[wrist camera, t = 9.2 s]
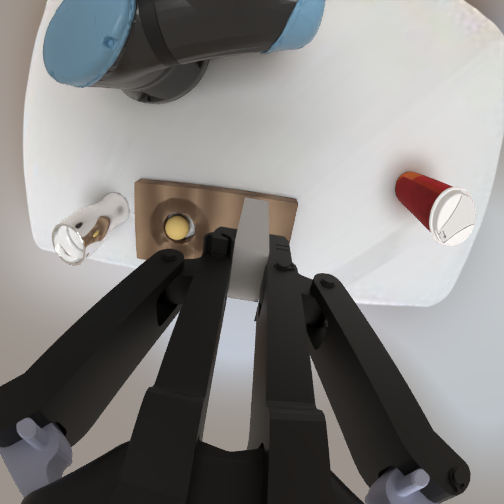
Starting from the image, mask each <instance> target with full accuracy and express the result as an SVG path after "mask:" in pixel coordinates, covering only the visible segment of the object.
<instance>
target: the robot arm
mask: <svg viewBox="0 0 504 504" xmlns="http://www.w3.org/2000/svg"><path fill="white" fill-rule="evenodd" d="M324 6H325V0H64V1H63V2H62V3H61V5H60V6H59V7H58V9H57V10H56V12H55V15H54V17H53V18H52V20H51V21H50V23H49V26H48V28H47V31H46V34H45V39H44V44H43V59H44V64H45V67H46V70H47V72H48V73H49V75H50V76H51V77H53V78H54V79H55V80H56V81H57V82H59V83H62V84H67V85H71V86H74V87H79V88H80V87H81V88H83V87H104V88H117V89H121V90H122V91H123V92H124V93H125V94H126V95H127V96H129V97H130V98H132V99H134V100H136V101H139V102H143V103H152V104H160V103H166V102H170V101H173V100H176V99H178V98H180V97H182V96H183V95H185V94H186V93H188V92H189V91H190V90H192V89H193V88H194V87H195V86H196V85H197V83H198V82H199V81H200V80H201V78H202V77H203V75H204V73H205V71H206V68H207V66H208V62H209V59H212V58H218V57H224V56H231V55H239V54H247V53H257V52H260V53H261V54H268V53H271V52H273V51H281V50H294V49H299V48H302V47H303V46H305V45H306V44H308V43H310V42H311V41H312V39H313V38H314V36H315V35H316V33H317V31H318V29H319V26H320V23H321V20H322V16H323V12H324ZM227 297H230V298H235V299H241V300H248V301H254V302H258V300H259V303H258V307H257V312H256V316H255V320H254V321H256V338H255V354H254V371H253V388H252V402H251V418H250V433H249V442H248V447H247V450H244V451H235V452H229V451H225V450H223V449H220V448H217V447H215V446H212V445H210V444H207V443H204V442H202V437H203V431H204V424H205V418H206V413H207V407H208V400H209V395H210V389H211V383H212V377H213V372H214V366H215V361H216V355H217V349H218V343H219V338H220V333H221V328H222V322H223V316H224V311H225V306H226V299H227ZM179 311H180V313H179ZM178 313H179V316H178V318H177V321H176V324H175V327H174V329H173V332H172V335H171V338H170V341H169V344H168V346H167V349H166V352H165V355H164V358H163V361H162V364H161V367H160V370H159V373H158V376H157V379H156V382H155V384H154V386H153V387H149V388H148V389H147V391H146V393H145V396H144V398H143V401H142V404H141V407H140V411H139V414H138V417H137V420H136V423H135V426H134V429H133V433H132V436H131V439H130V441H128V442H125V443H123V444H121V445H119V446H117V447H115V448H114V449H112V450H111V451H109V452H107V453H106V454H104V455H102V456H101V457H99V458H97V459H95V460H94V461H92V462H90V463H88V464H86V465H85V466H83V467H81V468H79V469H77V470H76V471H74V472H72V473H70V474H68V475H66V476H64V477H62V474H63V471H64V470H65V469H66V468H67V467H68V466H70V465H71V463H72V449H71V447H72V446H73V445H75V444H76V443H77V442H78V441H79V440H80V439H81V438H82V437H83V436H84V435H85V434H86V433H87V432H88V431H89V429H90V428H91V427H92V426H93V424H94V423H95V422H96V420H97V419H98V418H99V416H100V415H101V414H102V412H103V411H104V409H105V408H106V407H107V405H108V404H109V403H110V401H111V400H112V399H113V397H114V396H115V395H116V393H117V392H118V391H119V389H120V388H121V387H122V385H123V384H124V383H125V381H126V380H127V379H128V377H129V376H130V375H131V374H132V372H133V371H134V370H135V368H136V367H137V365H138V364H139V363H140V362H141V360H142V359H143V358H144V356H145V355H146V354H147V353H148V351H149V350H150V349H151V347H152V346H153V345H154V344H155V342H156V340H158V338H159V337H160V336H161V334H162V333H163V332H164V331H165V329H166V328H167V327H168V325H169V324H170V323H171V322H172V320H173V319H174V318H175V316H176V315H177V314H178ZM310 356H311V358H312V361H313V363H314V365H315V368H316V370H317V372H318V375H319V377H320V380H321V382H322V385H323V387H324V389H325V392H326V394H327V397H328V399H329V401H330V404H331V406H332V409H333V411H334V413H335V416H336V418H337V421H338V423H339V425H340V428H341V430H342V433H343V435H344V438H345V440H346V443H347V445H348V448H349V450H350V453H351V455H352V458H353V460H354V463H355V465H356V466H357V469H358V471H359V473H360V475H361V476H362V478H363V479H364V481H365V482H366V484H367V485H368V486H369V487H370V489H369V492H368V494H367V495H366V497H365V503H366V504H440V503H442V502H443V501H446V500H448V499H450V498H453V497H455V496H457V495H459V494H461V493H463V492H464V491H465V490H466V488H467V486H468V484H469V482H470V470H469V467H468V465H467V464H466V462H465V461H464V460H463V459H462V458H461V457H460V456H459V455H458V454H457V453H456V452H454V450H453V449H451V447H450V446H449V445H447V444H446V443H445V442H444V441H443V440H442V439H441V438H440V437H439V436H438V435H437V434H436V433H435V432H434V431H433V429H432V427H431V426H430V424H429V422H428V420H427V418H426V417H425V414H424V413H423V411H422V409H421V407H420V406H419V404H418V402H417V401H416V399H415V397H414V395H413V394H412V392H411V390H410V389H409V387H408V385H407V383H406V382H405V380H404V378H403V377H402V375H401V373H400V372H399V370H398V368H397V367H396V365H395V363H394V362H393V360H392V359H391V357H390V355H389V354H388V352H387V351H386V349H385V347H384V346H383V344H382V343H381V341H380V340H379V338H378V336H377V335H376V333H375V332H374V330H373V329H372V328H371V326H370V324H369V323H368V321H367V320H366V318H365V317H364V315H363V314H362V312H361V311H360V309H359V308H358V306H357V305H356V303H355V302H354V300H353V299H352V297H351V296H350V295H349V293H348V292H347V290H346V289H345V287H344V286H343V284H342V283H341V282H340V281H339V280H338V279H337V278H336V277H334V276H332V275H330V274H324V273H320V274H317V275H315V276H314V278H313V280H312V279H309V278H307V277H304V276H302V275H300V274H299V273H298V270H297V267H296V265H295V264H293V263H292V259H291V252H290V246H289V241H288V240H287V239H286V238H285V237H284V236H279V235H273V234H269V202H268V201H263V200H258V199H252V198H246V197H245V200H244V204H243V208H242V213H241V217H240V221H239V226H238V229H234V228H228V227H222V226H220V227H219V228H217V229H215V231H214V232H210V233H207V234H206V235H205V236H204V243H203V253H202V256H201V257H199V258H195V259H184V254H183V253H182V252H180V251H178V250H175V249H163V250H159V251H158V252H156V253H155V254H153V255H152V256H151V257H150V258H149V259H147V260H146V261H145V262H144V263H143V264H141V265H140V266H139V267H138V268H137V269H135V270H134V271H133V272H132V273H131V274H130V275H128V276H127V277H126V278H125V279H124V280H122V281H121V282H120V283H119V284H118V285H117V286H116V287H114V288H113V289H112V290H111V291H110V292H109V293H107V294H106V295H105V296H104V297H103V298H102V299H101V300H100V301H99V302H97V303H96V304H95V305H94V306H93V307H92V308H91V309H90V310H88V311H87V312H86V313H85V314H84V315H83V316H82V317H81V318H80V319H79V320H78V321H77V322H76V323H74V325H72V326H71V327H70V328H69V329H68V330H67V331H66V332H65V333H64V334H63V335H62V336H61V337H60V338H59V339H58V340H57V341H56V342H55V343H54V344H53V345H52V346H51V347H50V348H49V349H48V350H47V351H46V352H45V353H44V354H43V355H42V356H41V357H40V358H39V359H38V360H37V361H36V362H35V363H34V364H33V365H32V366H31V367H30V368H29V369H28V370H27V371H26V372H25V373H24V374H22V375H20V376H19V377H17V378H15V379H13V380H12V381H9V382H8V383H6V384H4V385H2V386H0V454H1V456H2V458H3V460H4V462H5V464H6V466H7V468H8V470H9V472H10V474H11V476H12V478H13V480H14V481H15V483H16V485H17V487H18V488H19V490H20V492H21V493H22V495H23V496H24V499H23V501H22V503H21V504H364V503H363V502H362V501H361V500H360V499H359V498H358V497H357V496H356V495H355V494H354V493H352V491H351V490H350V489H349V488H348V487H347V486H345V484H344V483H343V482H342V481H341V480H340V479H339V478H338V477H337V476H336V475H335V474H334V473H333V472H332V471H331V470H330V459H329V448H328V438H327V429H326V421H325V416H324V413H323V412H322V411H321V410H318V409H317V408H316V405H315V398H314V389H313V380H312V371H311V362H310Z"/></svg>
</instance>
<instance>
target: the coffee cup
mask: <svg viewBox="0 0 504 504" xmlns="http://www.w3.org/2000/svg"><path fill="white" fill-rule="evenodd" d="M395 192H396V196H397V198H398V199H399V201H400V202H401V203H402V204H403V205H404V206H405V207H406V208H407V209H408V210H409V211H410V212H411V213H412V214H413V215H414V216H415V217H416V218H417V219H418V220H419V221H420V222H421V223H422V224H423V225H424V226H425V227H426V228H427V229H428V230H429V231H430V232H431V234H432V236H433V238H434V239H435V240H436V241H437V242H438V243H440V244H443V245H449V246H455V245H458V244H460V243H462V242H463V241H465V240H466V239H467V238H468V236H469V235H470V234H471V232H472V230H473V228H474V225H475V220H476V208H475V203H474V201H473V199H472V197H471V195H470V193H469V192H468V191H467V190H465V189H463V188H461V187H452V186H450V185H447V184H445V183H442V182H440V181H437V180H435V179H432V178H429V177H427V176H424V175H421V174H418V173H415V172H406V173H404V174H402V175H401V176H400V177H399V178H398V180H397V182H396V186H395Z"/></svg>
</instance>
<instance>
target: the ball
mask: <svg viewBox="0 0 504 504" xmlns="http://www.w3.org/2000/svg"><path fill="white" fill-rule="evenodd" d="M165 230H166V233H167V235H168V236H169V237H170V238H172V239H174V240H180V239H183V238H184V237H185V236H186V235H187V234H188V232H189V223H188V221H187V220H186V219H185V218H184V217H182V216H173V217H171V218H170V219H169V220H168V221H167V223H166V226H165Z"/></svg>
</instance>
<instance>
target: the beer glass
mask: <svg viewBox="0 0 504 504" xmlns="http://www.w3.org/2000/svg"><path fill="white" fill-rule="evenodd" d="M128 214H129V207H128V204H127V201H126V200H125V198H124V197H123V196H121V195H120V194H118V193H109V194H107V195H106V196H104V197H103V199H102V200H101V201H100V202H98V203H96V204H93V205H89V206H86V207H84V208H81V209H79V210H77V211H75V212H73V213H72V214H71V215H69V216H68V217H66V218H65V219H64V220H63V221H62V222H61V223H60V224H58V225H57V226H56V227H55V228H54V230H53V233H52V242H53V246H54V249H55V251H56V253H57V254H58V256H59V257H60V258H61V259H62V260H63V261H64V262H66V263H68V264H70V265H79V264H81V263H82V262H83V261H84V260H85V259H87V258H88V257H89V256H91V255H92V254H93V253H94V252H95V251H96V250H97V249H98V248H99V247H100V246H101V245H102V244H103V242H104V241H105V240H106V238H107V237H108V235H109V234H110V232H111V231H112V229H113V228H114V227H115V226H117V225H119V224H121V223H123V222H124V221H125V220H126V219H127V217H128Z"/></svg>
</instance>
